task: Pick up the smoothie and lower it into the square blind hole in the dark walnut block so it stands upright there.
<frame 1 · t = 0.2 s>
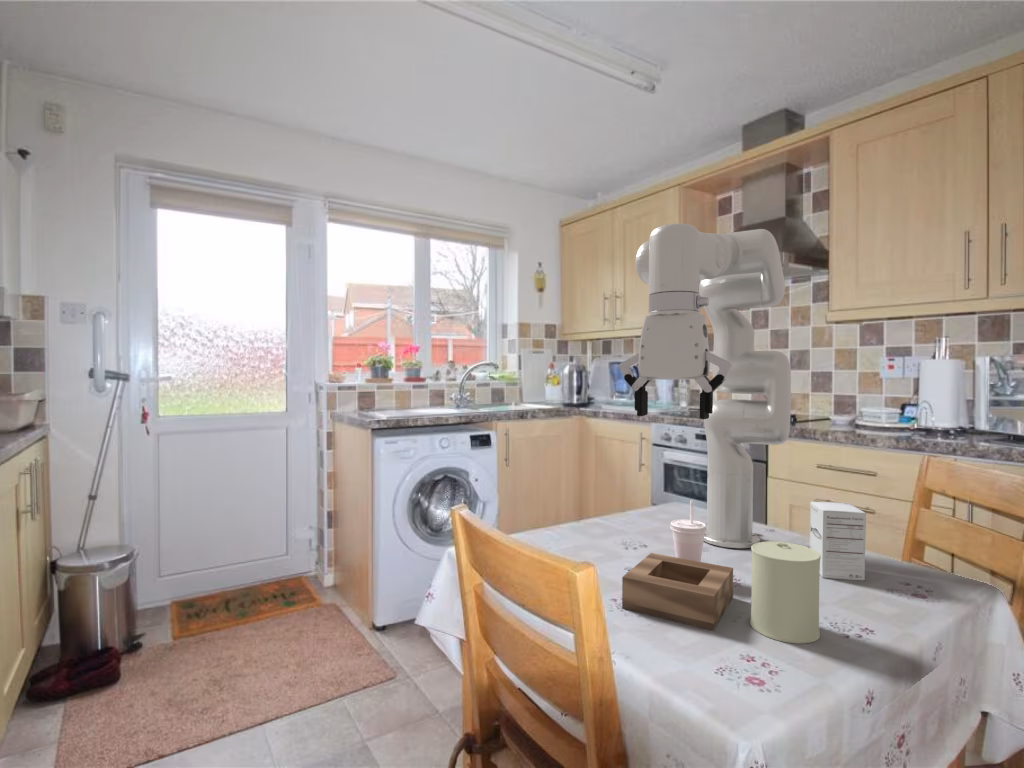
hand: (672, 417, 86), 31 cm above the table, tool pointing down, fingers open, 9 cm apart
can: (784, 630, 81), on the table
supplement box: (835, 573, 104), on the table
socket block: (678, 602, 90), on the table
smoothie: (687, 576, 102), on the table
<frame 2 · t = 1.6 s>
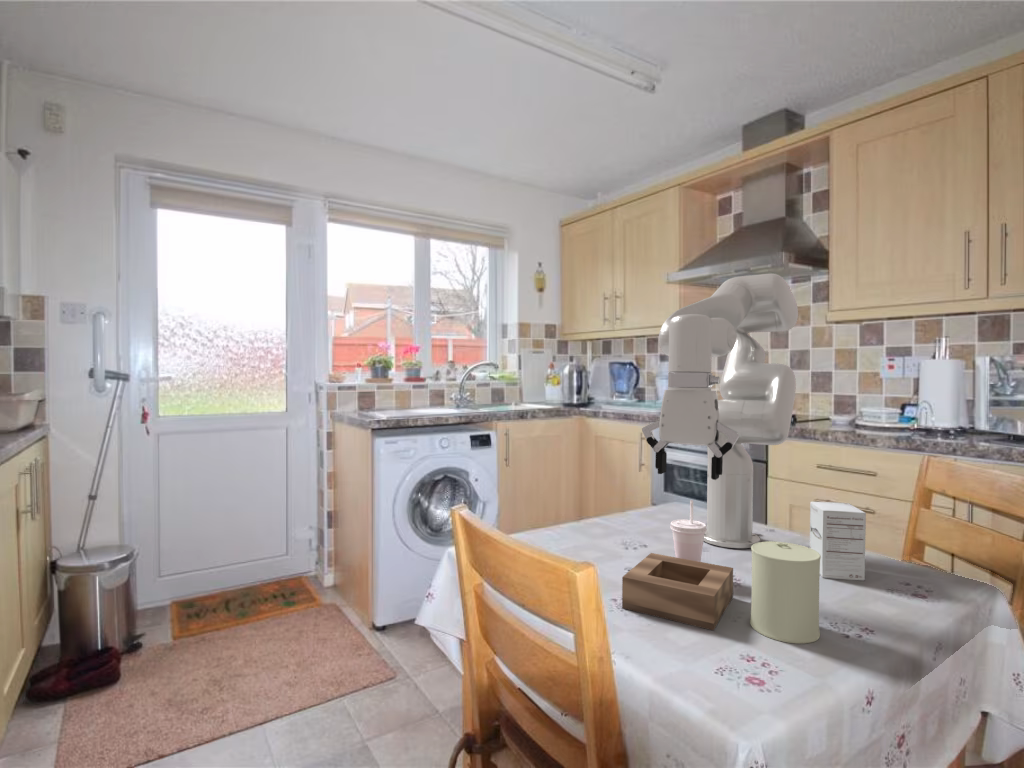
hand: (687, 475, 101), 19 cm above the table, tool pointing down, fingers open, 9 cm apart
nothing on the table moved.
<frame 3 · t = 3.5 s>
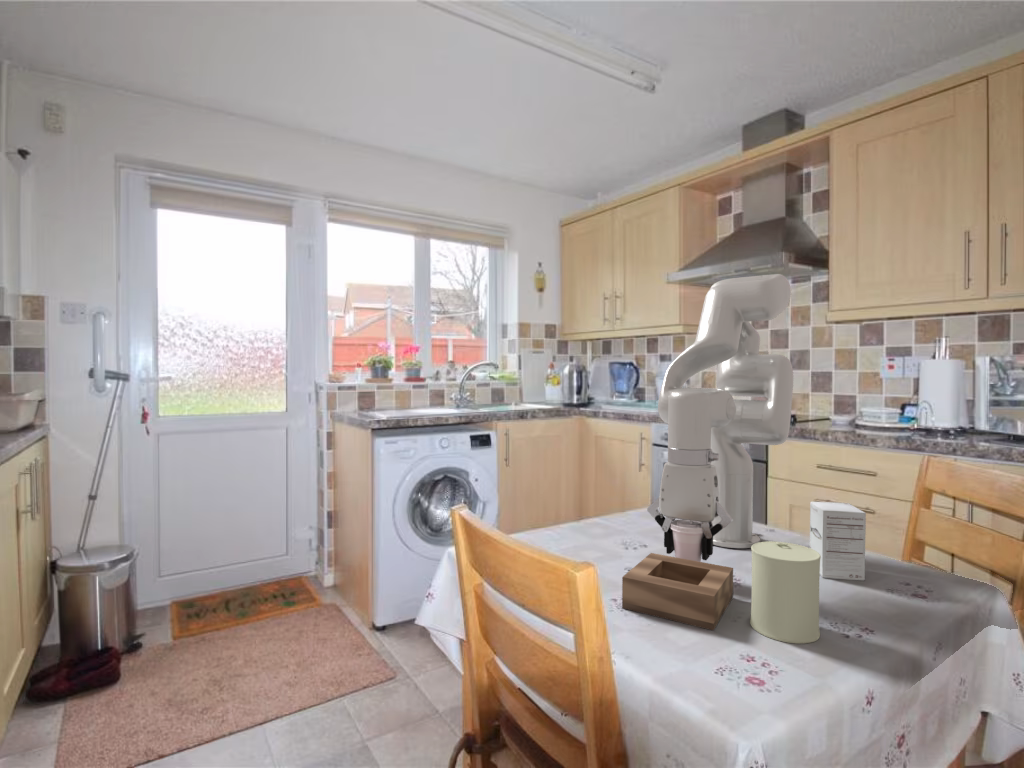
hand: (688, 554, 101), 4 cm above the table, tool pointing down, fingers closed on smoothie, 5 cm apart
smoothie: (687, 576, 102), on the table, touching gripper
everything else where it was.
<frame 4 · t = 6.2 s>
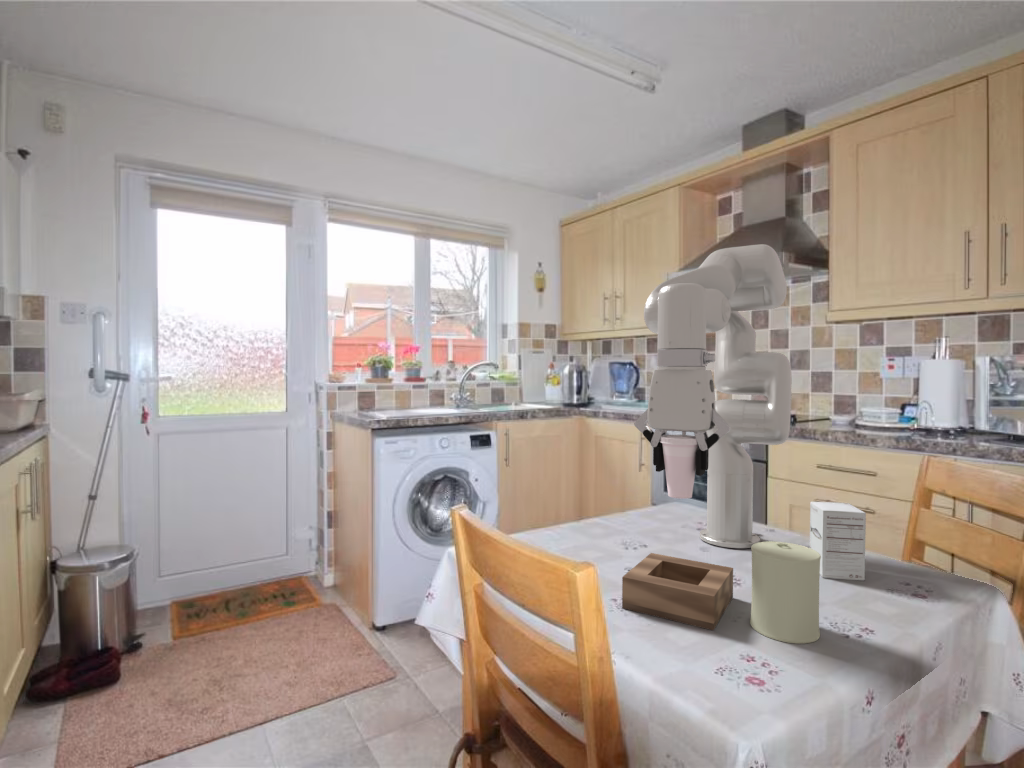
hand: (680, 471, 89), 21 cm above the table, tool pointing down, fingers closed on smoothie, 5 cm apart
smoothie: (679, 497, 89), point 17 cm above the table, touching gripper
everything else where it was.
when the fingers open (6 cm above the table, at t = 9.0 s): smoothie drops 1 cm, resting on socket block.
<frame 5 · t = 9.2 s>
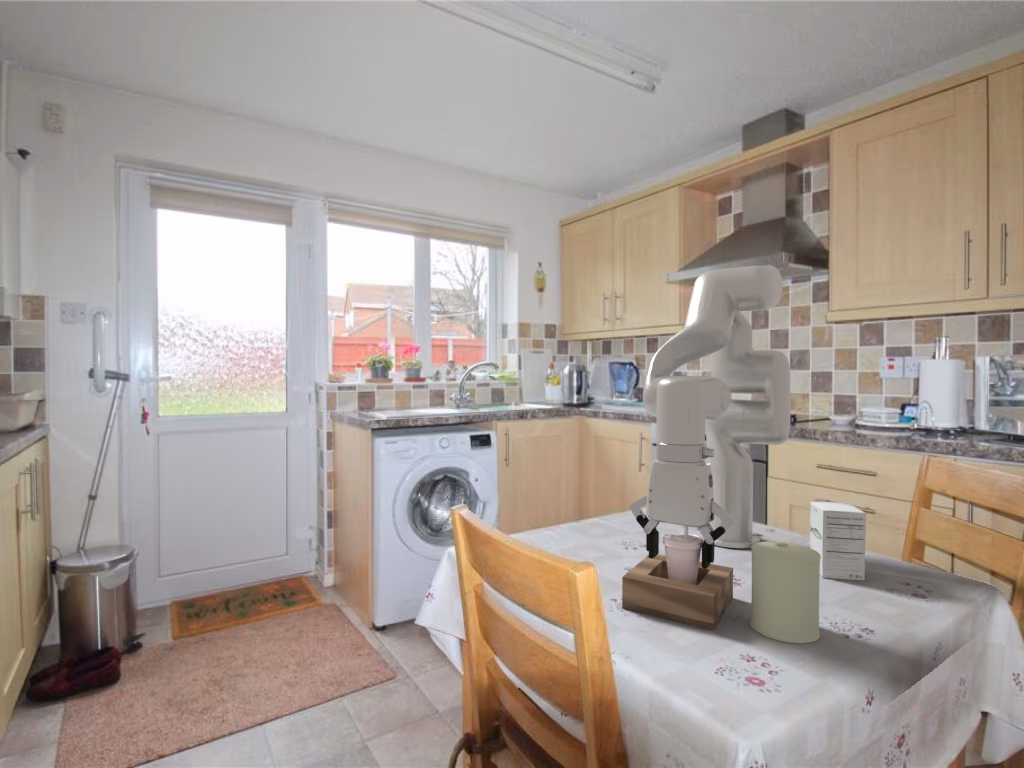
hand: (679, 560, 89), 7 cm above the table, tool pointing down, fingers open, 8 cm apart
smoothie: (682, 597, 89), point 1 cm above the table, touching socket block
everything else where it was.
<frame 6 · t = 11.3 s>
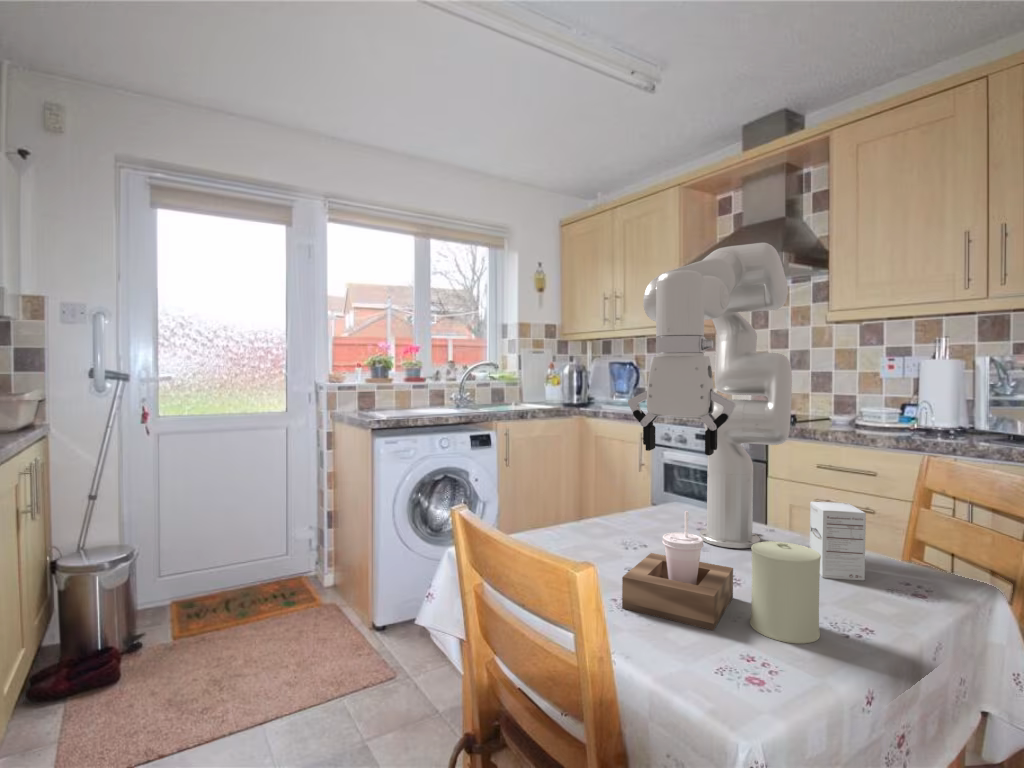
hand: (679, 451, 91), 24 cm above the table, tool pointing down, fingers open, 9 cm apart
nothing on the table moved.
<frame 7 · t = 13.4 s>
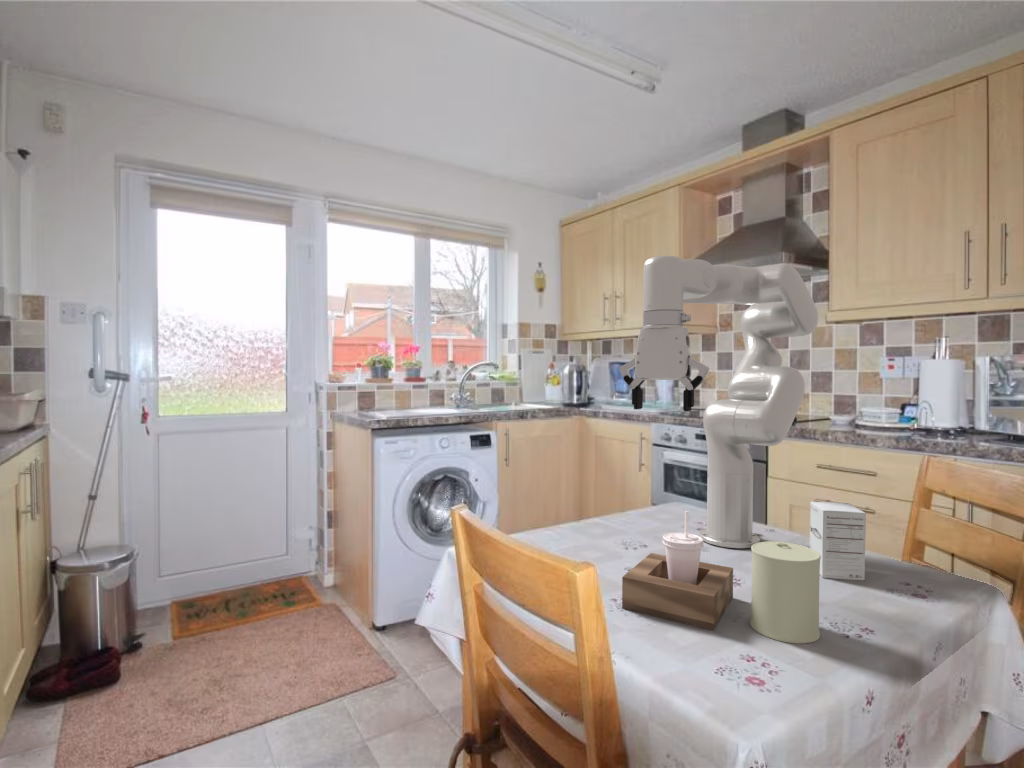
hand: (662, 409, 107), 30 cm above the table, tool pointing down, fingers open, 9 cm apart
nothing on the table moved.
at the end: smoothie 0.5 cm off-centre on the socket block, point 0.8 cm above the socket block's base; smoothie tilted 0°; the gripper is holding nothing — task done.
